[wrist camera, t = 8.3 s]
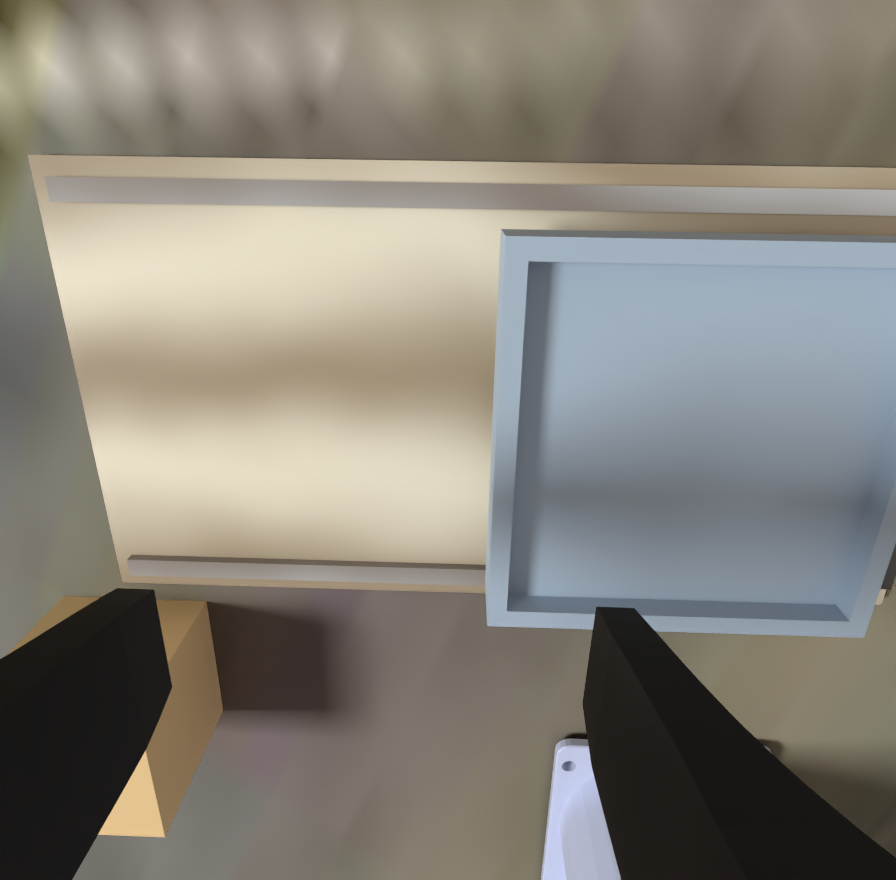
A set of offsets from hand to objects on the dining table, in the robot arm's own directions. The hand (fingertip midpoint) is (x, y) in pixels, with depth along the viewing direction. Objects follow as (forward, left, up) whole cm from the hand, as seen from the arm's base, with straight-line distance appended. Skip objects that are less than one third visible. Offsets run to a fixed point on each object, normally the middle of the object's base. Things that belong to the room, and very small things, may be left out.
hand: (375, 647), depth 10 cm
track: (+1, -3, -9) cm, 10 cm away
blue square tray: (+1, -7, -9) cm, 12 cm away
